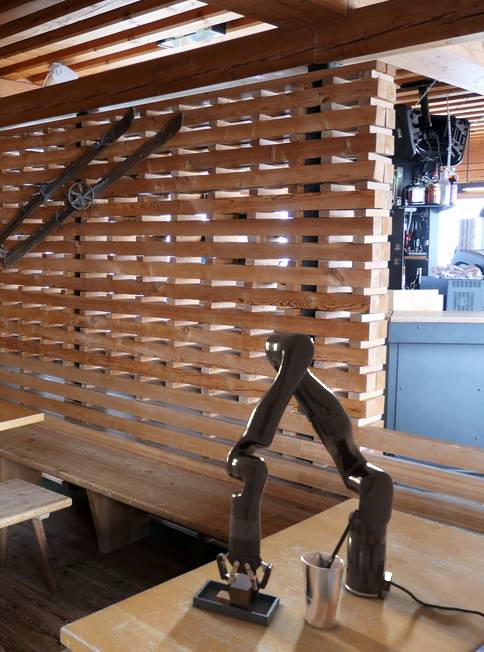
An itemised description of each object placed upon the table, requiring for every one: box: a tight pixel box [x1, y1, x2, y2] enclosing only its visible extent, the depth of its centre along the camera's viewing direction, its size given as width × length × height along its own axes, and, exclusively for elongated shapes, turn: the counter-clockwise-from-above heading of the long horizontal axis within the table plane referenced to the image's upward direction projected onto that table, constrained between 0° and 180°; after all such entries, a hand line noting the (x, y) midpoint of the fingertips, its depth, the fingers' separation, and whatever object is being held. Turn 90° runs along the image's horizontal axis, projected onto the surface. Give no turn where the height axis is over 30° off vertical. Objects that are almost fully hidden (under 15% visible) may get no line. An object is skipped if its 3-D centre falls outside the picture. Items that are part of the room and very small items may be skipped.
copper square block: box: [216, 590, 230, 606], centre depth 186 cm, size 4×4×2 cm
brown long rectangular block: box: [229, 573, 253, 611], centre depth 184 cm, size 4×9×6 cm, turn 148°
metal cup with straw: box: [299, 508, 359, 630], centre depth 176 cm, size 11×11×30 cm
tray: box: [192, 578, 281, 627], centre depth 185 cm, size 18×12×2 cm
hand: (243, 599), depth 184 cm, fingers closed on brown long rectangular block, 4 cm apart
